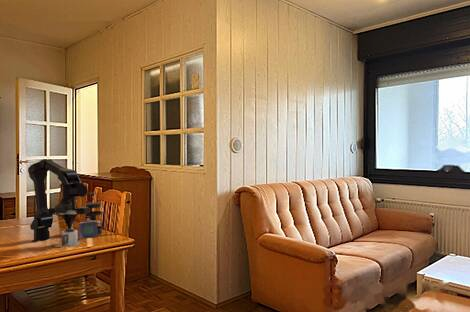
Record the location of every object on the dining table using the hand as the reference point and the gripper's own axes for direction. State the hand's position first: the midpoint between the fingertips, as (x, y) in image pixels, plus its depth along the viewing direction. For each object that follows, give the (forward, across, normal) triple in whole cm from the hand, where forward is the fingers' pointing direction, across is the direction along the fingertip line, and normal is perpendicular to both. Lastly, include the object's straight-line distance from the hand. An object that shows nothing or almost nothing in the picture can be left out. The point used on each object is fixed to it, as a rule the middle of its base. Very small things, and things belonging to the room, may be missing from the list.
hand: (69, 228), depth 174 cm
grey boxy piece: (+8, 0, -1) cm, 8 cm away
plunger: (+6, 0, 0) cm, 6 cm away
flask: (+9, +2, +14) cm, 17 cm away
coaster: (+8, 0, 0) cm, 8 cm away
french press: (+9, -1, +26) cm, 27 cm away
